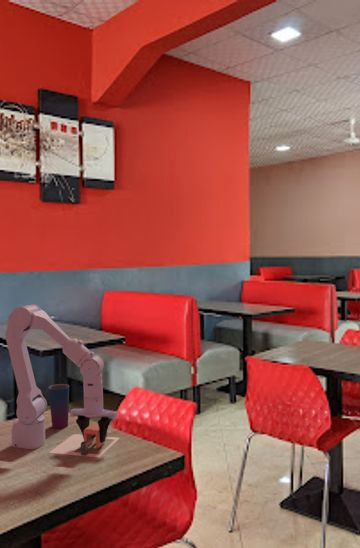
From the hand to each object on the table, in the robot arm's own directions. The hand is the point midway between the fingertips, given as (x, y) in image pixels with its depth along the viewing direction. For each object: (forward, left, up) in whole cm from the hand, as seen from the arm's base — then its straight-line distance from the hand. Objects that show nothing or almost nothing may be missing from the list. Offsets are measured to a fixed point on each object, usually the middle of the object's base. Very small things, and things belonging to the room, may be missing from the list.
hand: (94, 441), depth 160 cm
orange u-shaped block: (0, 0, -1) cm, 1 cm away
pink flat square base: (-3, 0, -3) cm, 4 cm away
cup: (-19, +14, -3) cm, 24 cm away
